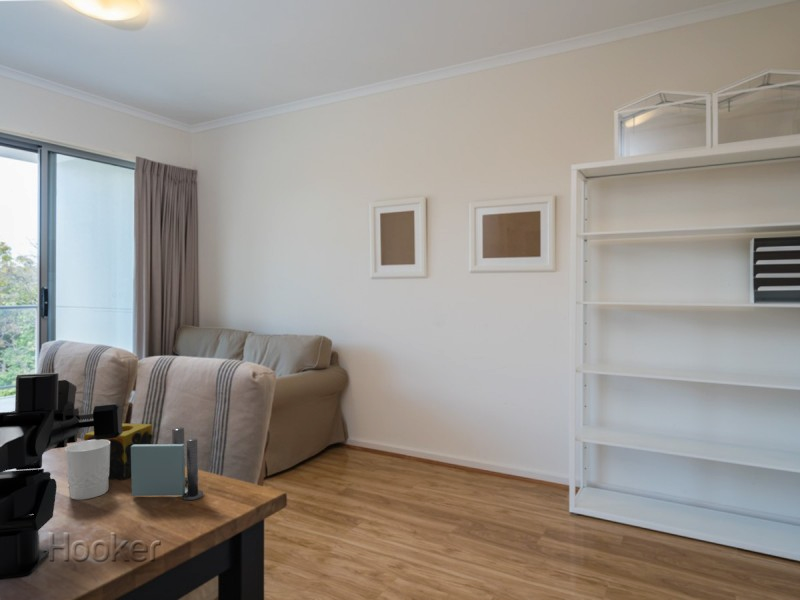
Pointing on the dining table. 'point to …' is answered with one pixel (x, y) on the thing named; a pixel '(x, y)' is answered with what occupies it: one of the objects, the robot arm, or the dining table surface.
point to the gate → (158, 469)
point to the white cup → (88, 468)
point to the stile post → (178, 437)
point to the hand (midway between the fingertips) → (83, 418)
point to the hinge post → (192, 472)
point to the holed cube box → (124, 448)
